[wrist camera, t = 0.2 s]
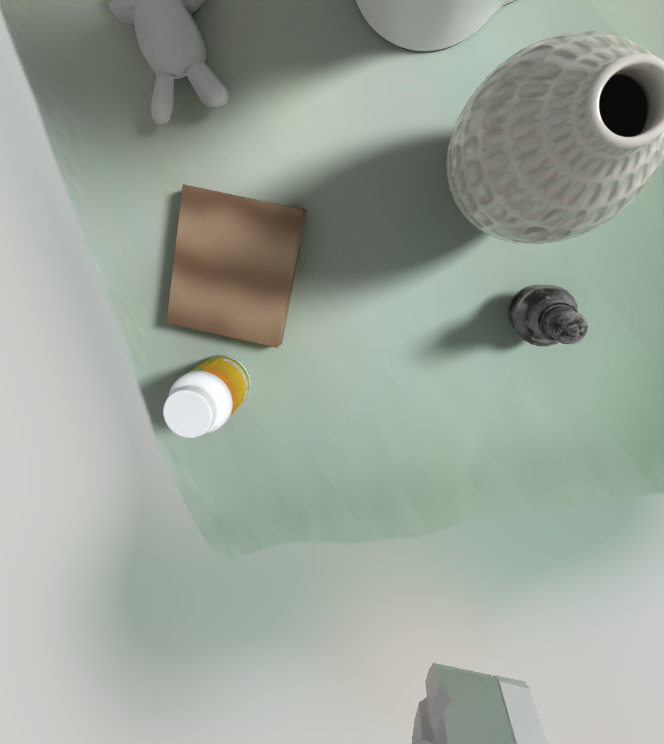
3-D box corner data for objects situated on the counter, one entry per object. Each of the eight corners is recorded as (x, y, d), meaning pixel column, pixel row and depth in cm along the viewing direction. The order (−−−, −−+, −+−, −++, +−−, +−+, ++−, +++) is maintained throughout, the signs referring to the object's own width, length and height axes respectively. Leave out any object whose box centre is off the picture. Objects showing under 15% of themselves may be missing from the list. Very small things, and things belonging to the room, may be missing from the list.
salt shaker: (548, 348, 54) (591, 378, 42) (495, 326, 54) (525, 350, 42) (576, 295, 52) (630, 312, 41) (522, 272, 52) (561, 282, 41)
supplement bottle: (221, 342, 57) (183, 367, 46) (263, 382, 58) (234, 415, 47) (185, 380, 59) (140, 413, 48) (226, 419, 60) (190, 459, 49)
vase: (488, 73, 48) (620, -138, 21) (599, 153, 49) (863, 48, 22) (408, 194, 52) (432, 146, 24) (512, 267, 52) (648, 299, 25)
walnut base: (192, 186, 54) (182, 184, 51) (305, 210, 53) (302, 209, 51) (175, 319, 57) (166, 323, 55) (281, 343, 57) (277, 347, 54)
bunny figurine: (186, -93, 44) (229, 89, 46) (208, -53, 49) (246, 110, 51) (86, -56, 46) (130, 119, 47) (117, -21, 51) (156, 137, 52)
